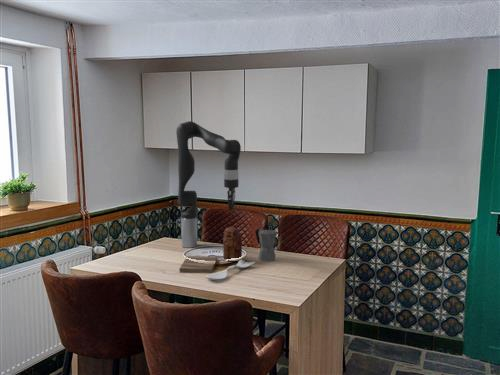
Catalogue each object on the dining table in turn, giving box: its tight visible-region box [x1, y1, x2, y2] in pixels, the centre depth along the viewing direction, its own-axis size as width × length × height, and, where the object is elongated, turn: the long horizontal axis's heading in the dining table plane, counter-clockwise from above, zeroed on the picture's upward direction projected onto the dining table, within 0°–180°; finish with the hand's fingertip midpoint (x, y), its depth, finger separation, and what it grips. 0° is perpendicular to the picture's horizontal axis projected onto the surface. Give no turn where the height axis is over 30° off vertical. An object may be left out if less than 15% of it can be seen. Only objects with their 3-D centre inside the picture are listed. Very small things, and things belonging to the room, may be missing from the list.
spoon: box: [205, 258, 256, 281], centre depth 237 cm, size 9×32×4 cm, turn 146°
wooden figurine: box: [222, 226, 243, 263], centre depth 258 cm, size 12×6×18 cm, turn 64°
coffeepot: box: [255, 226, 278, 262], centre depth 261 cm, size 15×9×18 cm, turn 44°
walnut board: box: [179, 255, 218, 274], centre depth 249 cm, size 22×16×2 cm
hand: (231, 208), depth 256 cm, fingers open, 8 cm apart
